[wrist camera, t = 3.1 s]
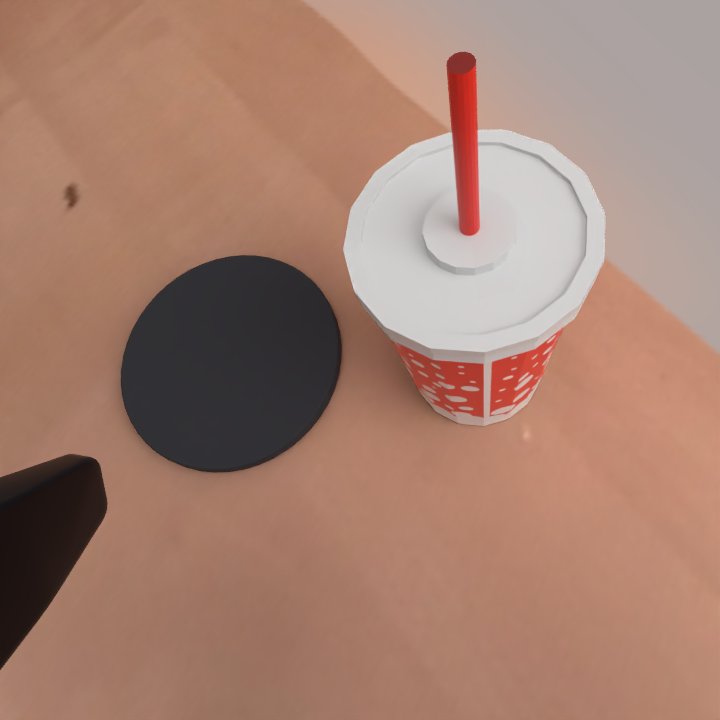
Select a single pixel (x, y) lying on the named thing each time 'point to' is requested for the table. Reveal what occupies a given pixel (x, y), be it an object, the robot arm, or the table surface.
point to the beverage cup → (475, 258)
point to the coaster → (231, 364)
